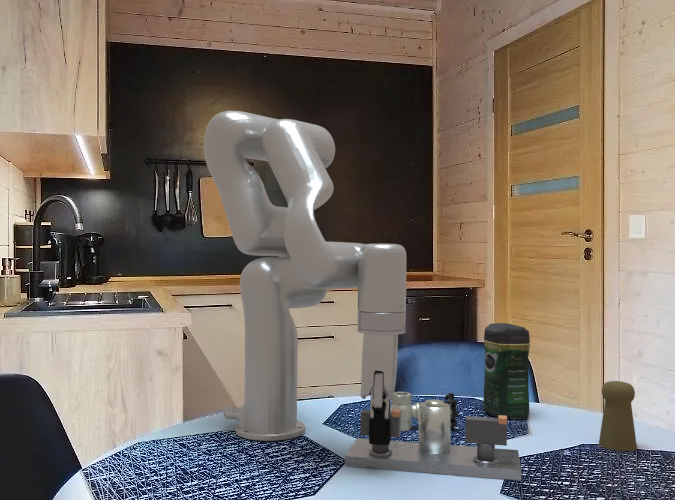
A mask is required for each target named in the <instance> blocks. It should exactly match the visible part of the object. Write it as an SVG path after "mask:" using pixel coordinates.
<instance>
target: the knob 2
mask: <svg viewBox="0 0 675 500" xmlns="http://www.w3.org/2000/svg"><path fill="white" fill-rule="evenodd" d="M464 441H465V444H476V447H477V459H478V460H480V461H484V462H492V461H494V460H495V448H496V446H506V447H507V446H508V444H507V443H508V418H507V416H504V415H498V417H488V416H487V417H485V416H484V417H483V416H470V415H468V416H467V415H465V440H464Z"/></svg>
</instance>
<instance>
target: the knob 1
mask: <svg viewBox="0 0 675 500" xmlns="http://www.w3.org/2000/svg"><path fill="white" fill-rule="evenodd" d="M369 417H370V409H362V410H361V411H360V429H359V430H360V431H359V432H360V436H368V437H369ZM389 418H390V437H391V438H396V439H399V438H400V437H401V432H402V431H401V409H393V410H392V411H389ZM372 451H373V452H375V453H387V452H389V445H373V444H372Z"/></svg>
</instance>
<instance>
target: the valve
mask: <svg viewBox="0 0 675 500" xmlns="http://www.w3.org/2000/svg"><path fill="white" fill-rule="evenodd" d="M412 396H413V395H412V393H410V392H407V391H394V394H393V398H391V403H392V404H391V405H390V411H392V410H393V409H401V432H409V431H410V430H411V429H412V420H413V419H412V418H414V419H415V420H419V404H420V403H421V402H415V403H414V404H411V403H413V402H412V399H413V398H412ZM444 400H445V401H443V402H444V403H447V404H449V405H450V406H451V409H450V429H454V428H455V427H458V422H457V419H456V418H458V417H459V411H458V410H457V406H458V400H457V399H455V394H454V392H448V393H447V394H445V395H444Z"/></svg>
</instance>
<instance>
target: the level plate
mask: <svg viewBox="0 0 675 500" xmlns="http://www.w3.org/2000/svg"><path fill="white" fill-rule="evenodd" d="M444 402H445V401H444V400H440V399H435V398H434V399H426V400H425V401H422V402H419V403H420V404H419V419H418V434H417V435H418V439H417V440H418V442H412V441H400V440H390V444H389V452H387V453H375V452H373V451H372V444H370V443H369V438H360V437H359V438H356V440H355V441H354V443H353V444H352V445H351V447H350V448H349V450H348V451H347V452H346V454H345V456H344V466H345V467H354V468H367V469H379V470H391V471H400V472H401V471H403V472H415V473H425V474H426V473H427V474H437V475H449V476H460V477H472V478H473V477H474V478H484V479H485V478H486V479H497V480H508V481H509V480H510V481H520V482H521V481H522V466H521V461H520V460H521V459H520V454H519V450H518V449H509V448H508V449H507V448H496V447H495V460H494V461H492V462H484V461H480V460H478V459H477V446H468V445H453V444H451V428H450V409H451V405H449V404H447V403H444Z"/></svg>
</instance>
